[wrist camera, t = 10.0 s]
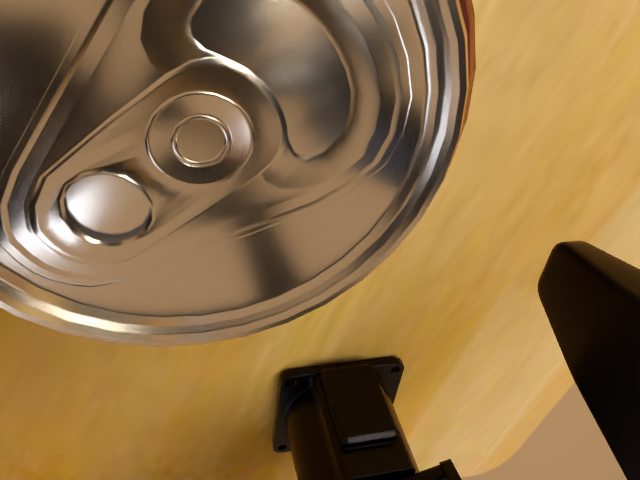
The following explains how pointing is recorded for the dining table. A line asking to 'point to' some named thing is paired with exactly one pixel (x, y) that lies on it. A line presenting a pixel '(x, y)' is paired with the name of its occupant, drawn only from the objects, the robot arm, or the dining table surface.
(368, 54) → the soda can
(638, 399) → the robot arm
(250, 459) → the dining table surface
